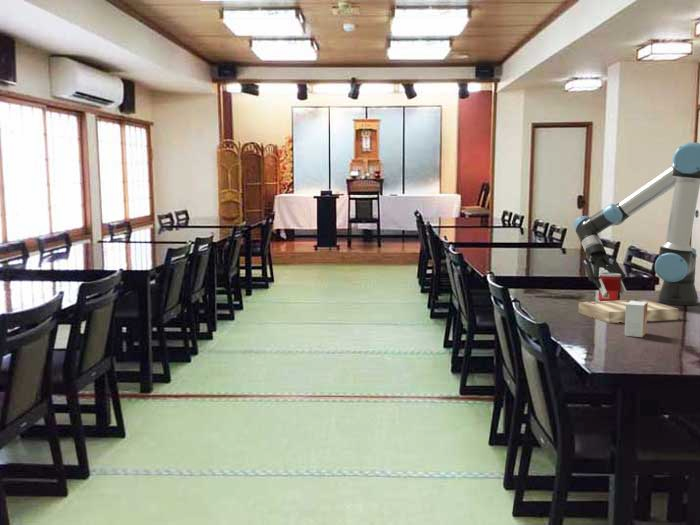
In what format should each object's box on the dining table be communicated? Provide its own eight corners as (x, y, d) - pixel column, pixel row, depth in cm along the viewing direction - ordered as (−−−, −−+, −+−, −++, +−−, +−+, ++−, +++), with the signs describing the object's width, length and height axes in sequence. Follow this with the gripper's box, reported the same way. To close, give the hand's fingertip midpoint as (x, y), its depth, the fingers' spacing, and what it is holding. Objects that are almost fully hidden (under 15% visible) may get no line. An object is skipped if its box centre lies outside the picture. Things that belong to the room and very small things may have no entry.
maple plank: (643, 309, 265) (643, 299, 265) (678, 319, 246) (678, 308, 246) (578, 312, 260) (578, 302, 259) (608, 323, 240) (609, 311, 240)
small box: (642, 337, 217) (644, 305, 216) (624, 335, 220) (625, 303, 219) (646, 333, 224) (648, 301, 223) (628, 331, 227) (630, 300, 226)
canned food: (622, 302, 268) (624, 275, 266) (602, 302, 268) (603, 275, 266) (615, 299, 275) (617, 272, 274) (595, 299, 276) (597, 272, 274)
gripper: (612, 253, 286) (633, 298, 273) (567, 254, 282) (586, 299, 269) (620, 242, 281) (642, 287, 267) (574, 243, 276) (594, 288, 263)
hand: (614, 293), depth 268 cm, fingers closed on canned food, 8 cm apart
